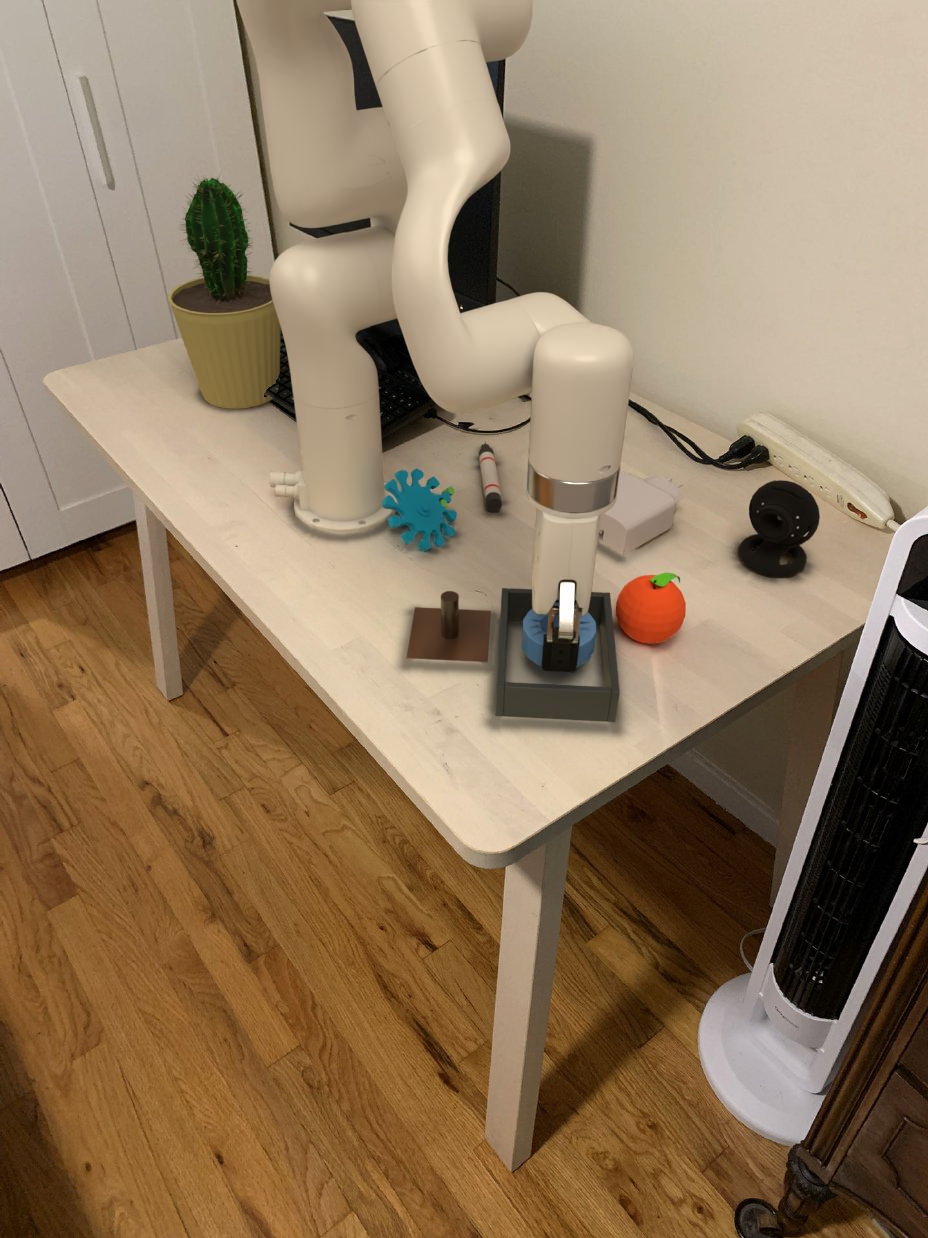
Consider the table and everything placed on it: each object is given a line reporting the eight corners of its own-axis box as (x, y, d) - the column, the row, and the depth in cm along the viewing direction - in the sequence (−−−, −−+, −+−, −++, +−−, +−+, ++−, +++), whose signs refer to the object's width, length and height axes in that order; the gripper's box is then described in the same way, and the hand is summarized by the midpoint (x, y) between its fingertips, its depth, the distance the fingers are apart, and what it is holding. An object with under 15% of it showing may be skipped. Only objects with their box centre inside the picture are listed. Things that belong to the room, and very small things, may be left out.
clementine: (646, 601, 97) (656, 546, 93) (700, 632, 93) (712, 577, 89) (597, 633, 93) (605, 578, 88) (651, 667, 89) (662, 612, 85)
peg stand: (406, 664, 89) (404, 620, 86) (415, 612, 95) (413, 570, 92) (487, 668, 89) (488, 624, 85) (490, 616, 95) (492, 573, 91)
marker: (502, 512, 110) (502, 498, 109) (486, 512, 110) (486, 498, 109) (491, 449, 122) (492, 436, 121) (477, 450, 122) (477, 436, 121)
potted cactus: (207, 366, 142) (168, 157, 122) (303, 371, 140) (280, 160, 121) (172, 412, 130) (124, 188, 111) (278, 418, 129) (247, 192, 109)
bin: (495, 721, 83) (496, 686, 80) (500, 621, 94) (501, 587, 91) (614, 727, 83) (619, 692, 80) (605, 626, 94) (610, 592, 91)
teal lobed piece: (417, 559, 100) (374, 479, 99) (388, 576, 104) (346, 500, 104) (479, 528, 107) (439, 453, 107) (449, 545, 112) (410, 474, 111)
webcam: (724, 560, 103) (742, 484, 97) (754, 532, 107) (774, 458, 101) (788, 588, 99) (811, 511, 93) (817, 558, 103) (841, 482, 97)
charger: (702, 513, 110) (621, 561, 103) (644, 483, 116) (563, 526, 108) (709, 479, 107) (627, 526, 100) (649, 450, 113) (566, 492, 105)
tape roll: (521, 668, 84) (522, 647, 82) (522, 621, 89) (523, 600, 87) (595, 671, 83) (597, 650, 82) (591, 624, 89) (594, 603, 87)
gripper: (528, 428, 82) (520, 585, 93) (525, 536, 68) (516, 705, 79) (611, 431, 81) (593, 588, 92) (626, 540, 68) (602, 709, 79)
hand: (558, 641), depth 86 cm, fingers closed on tape roll, 6 cm apart
